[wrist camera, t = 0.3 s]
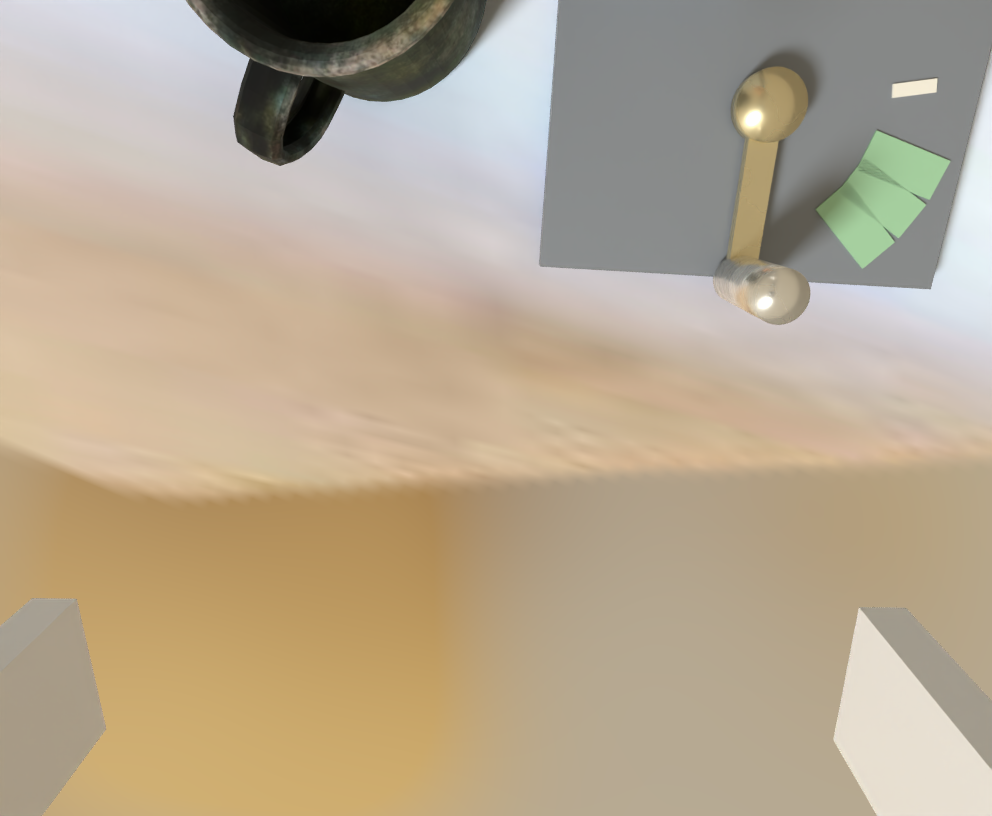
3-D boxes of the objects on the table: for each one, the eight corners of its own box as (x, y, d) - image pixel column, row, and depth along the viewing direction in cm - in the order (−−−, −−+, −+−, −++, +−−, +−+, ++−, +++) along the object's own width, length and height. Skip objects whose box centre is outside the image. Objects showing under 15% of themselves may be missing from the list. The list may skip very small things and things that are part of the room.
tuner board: (577, -256, 29) (589, -342, 25) (1043, -231, 29) (1146, -311, 24) (539, 263, 36) (543, 275, 31) (917, 286, 36) (979, 301, 31)
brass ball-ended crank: (736, 68, 32) (785, 42, 26) (805, 71, 32) (869, 46, 26) (701, 300, 35) (739, 322, 29) (764, 304, 35) (813, 326, 29)
